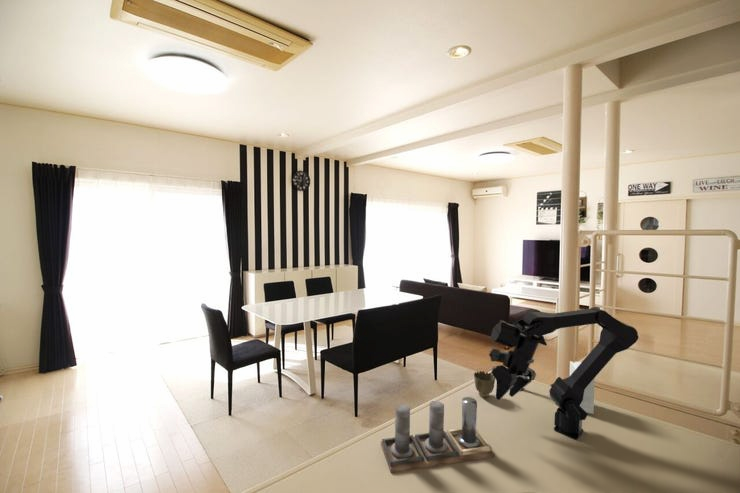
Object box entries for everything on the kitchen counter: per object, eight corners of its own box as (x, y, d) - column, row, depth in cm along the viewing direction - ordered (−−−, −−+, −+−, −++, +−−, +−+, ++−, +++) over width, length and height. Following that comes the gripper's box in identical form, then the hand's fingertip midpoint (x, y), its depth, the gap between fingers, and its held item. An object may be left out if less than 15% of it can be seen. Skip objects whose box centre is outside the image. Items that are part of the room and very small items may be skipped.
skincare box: (594, 414, 112) (596, 372, 111) (573, 411, 114) (576, 369, 112) (586, 401, 120) (588, 361, 119) (567, 398, 122) (569, 359, 120)
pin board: (473, 431, 103) (475, 389, 102) (493, 456, 92) (495, 410, 91) (380, 444, 97) (380, 400, 96) (390, 472, 86) (391, 423, 85)
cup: (497, 401, 120) (498, 380, 119) (477, 401, 120) (477, 379, 119) (490, 390, 127) (491, 370, 126) (471, 390, 127) (471, 370, 127)
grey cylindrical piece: (481, 439, 98) (482, 398, 97) (477, 451, 92) (478, 408, 91) (460, 433, 100) (461, 393, 99) (455, 445, 95) (456, 403, 94)
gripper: (512, 339, 114) (495, 379, 116) (486, 338, 102) (467, 384, 103) (544, 356, 106) (525, 400, 107) (520, 358, 93) (499, 407, 95)
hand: (504, 397), depth 103 cm, fingers open, 9 cm apart
